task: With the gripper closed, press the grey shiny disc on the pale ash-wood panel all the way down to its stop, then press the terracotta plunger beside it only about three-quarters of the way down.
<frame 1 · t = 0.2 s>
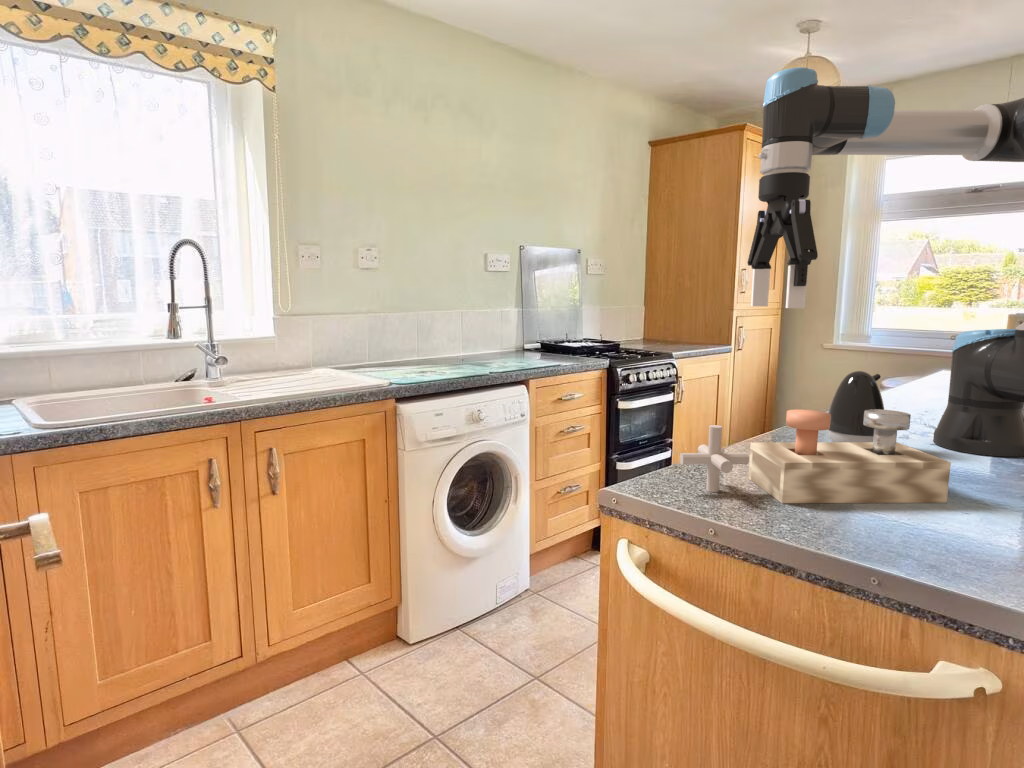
hand: (776, 307, 102), 28 cm above the counter, fingers open, 13 cm apart
terracotta plunger: (806, 437, 93), point 8 cm above the counter, slide at 0.0 cm
grey shiny disc: (884, 437, 93), point 8 cm above the counter, slide at 0.0 cm
panel housing: (841, 489, 94), on the counter
pump dispenser: (853, 448, 121), on the counter
pipe connector: (712, 491, 94), on the counter
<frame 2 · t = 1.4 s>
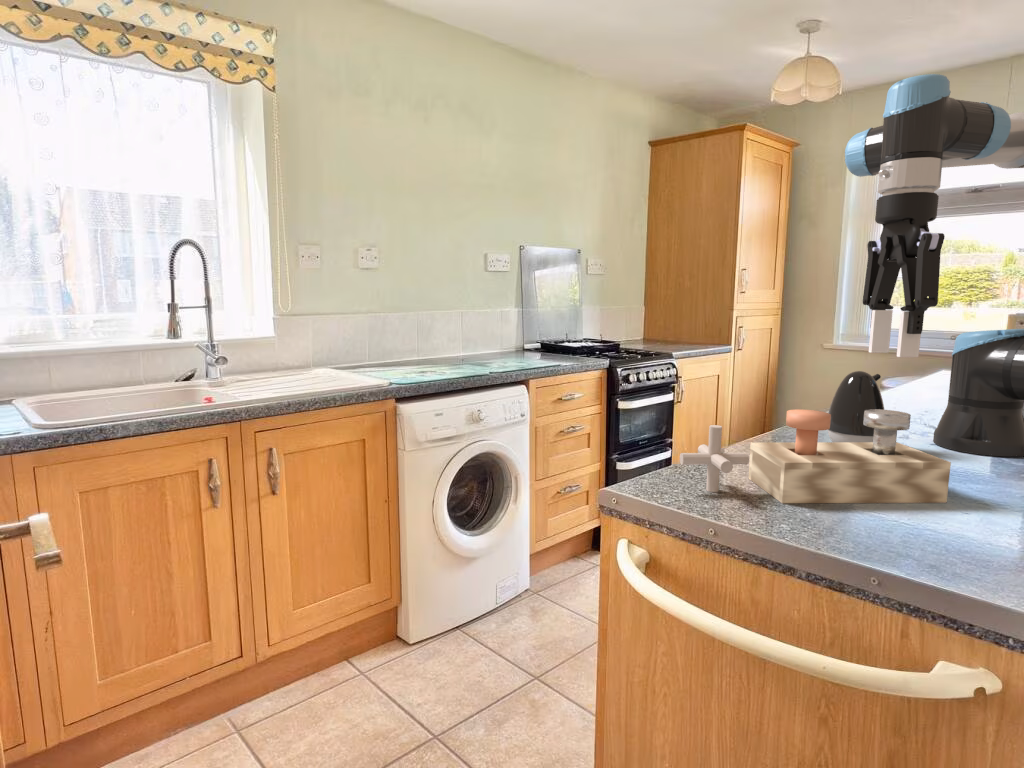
hand: (892, 354, 92), 21 cm above the counter, fingers open, 6 cm apart
nothing on the counter moved.
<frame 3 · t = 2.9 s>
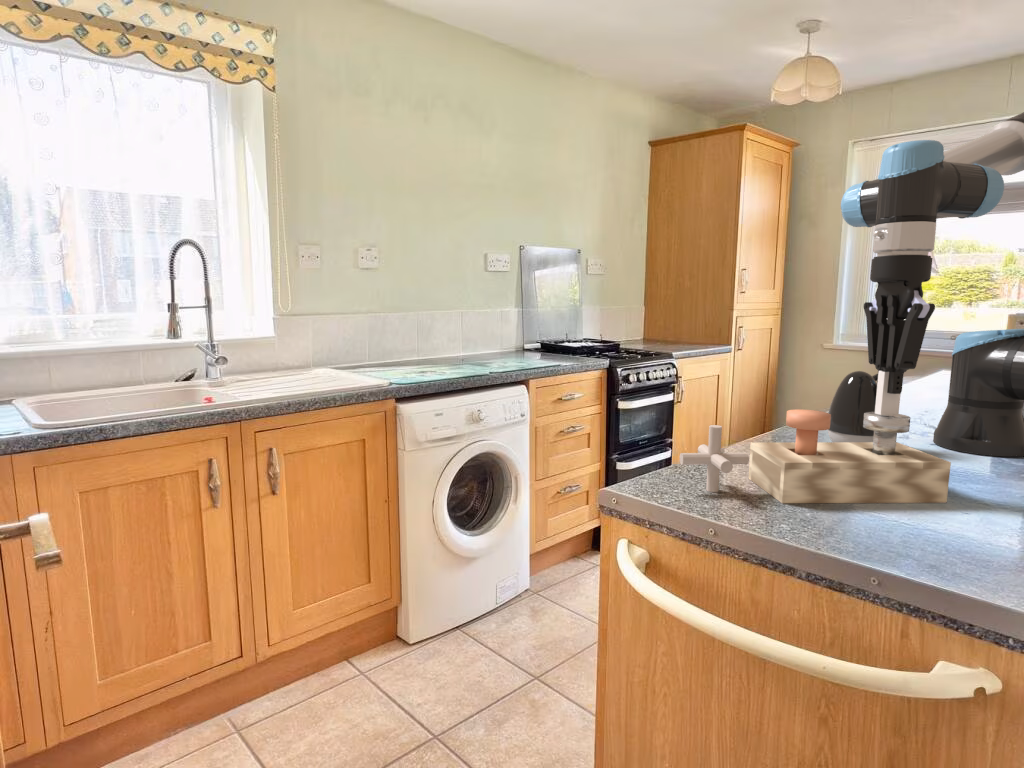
hand: (886, 413, 93), 12 cm above the counter, fingers closed
grey shiny disc: (884, 439, 93), point 8 cm above the counter, slide at 0.4 cm, touching gripper
everything else where it was.
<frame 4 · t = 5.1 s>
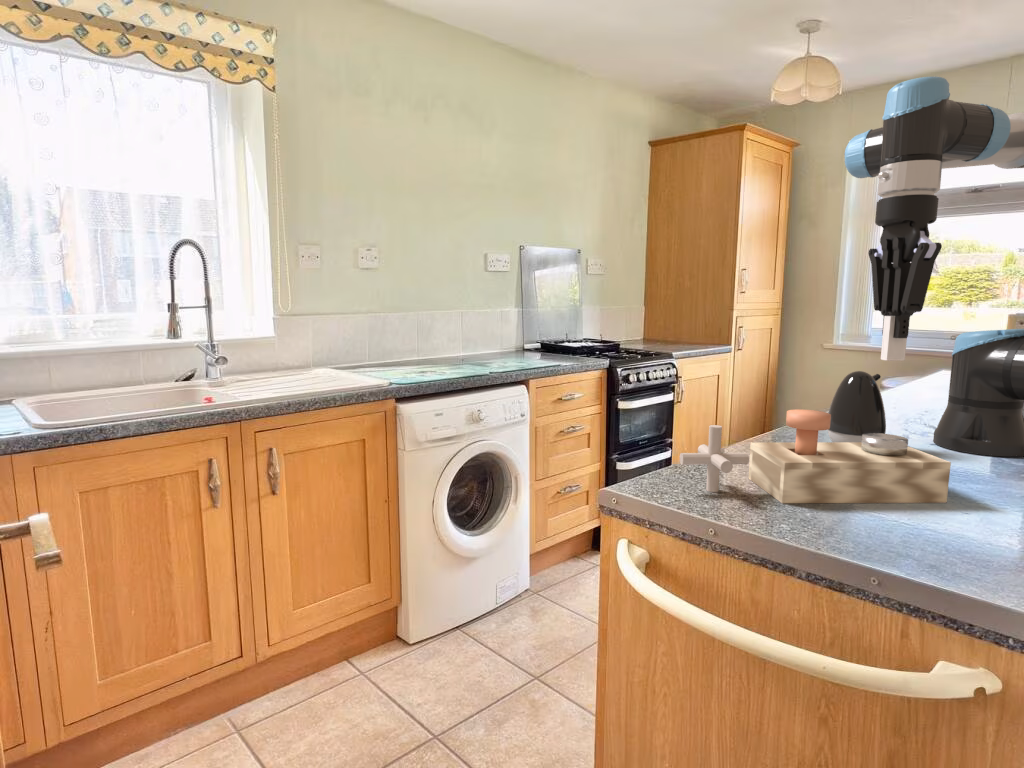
hand: (892, 359, 92), 20 cm above the counter, fingers closed
grey shiny disc: (882, 461, 94), point 4 cm above the counter, slide at 3.8 cm
everything else where it was.
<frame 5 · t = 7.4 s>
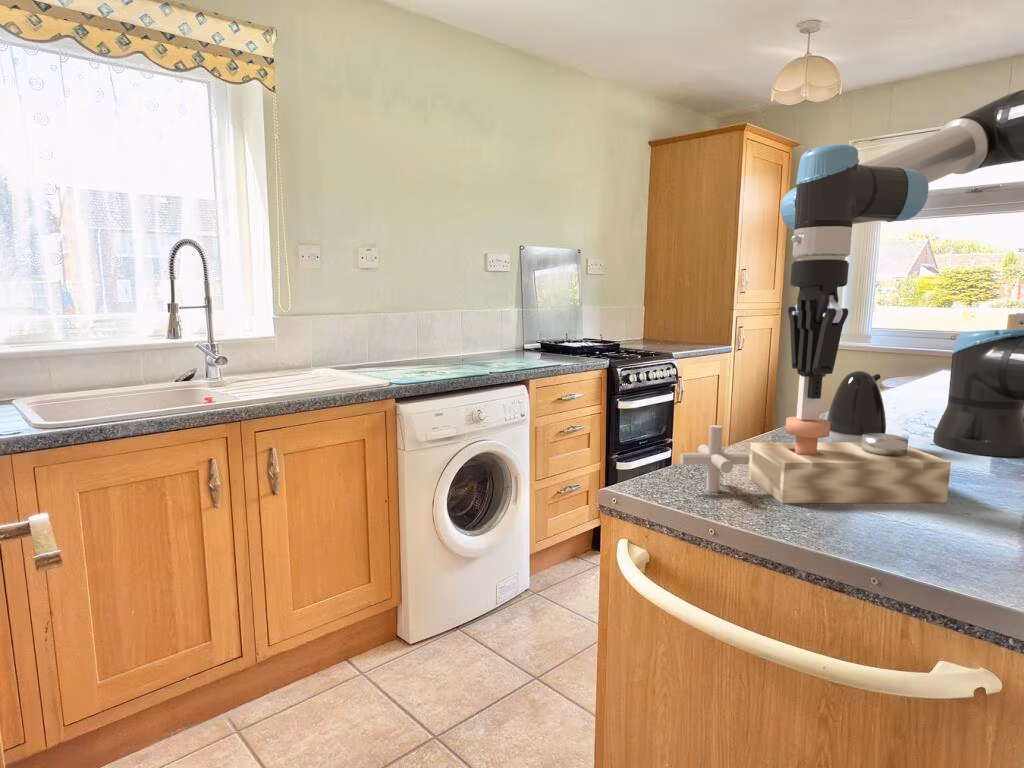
hand: (807, 418, 93), 11 cm above the counter, fingers closed
terracotta plunger: (806, 444, 93), point 7 cm above the counter, slide at 1.1 cm, touching gripper
everything else where it was.
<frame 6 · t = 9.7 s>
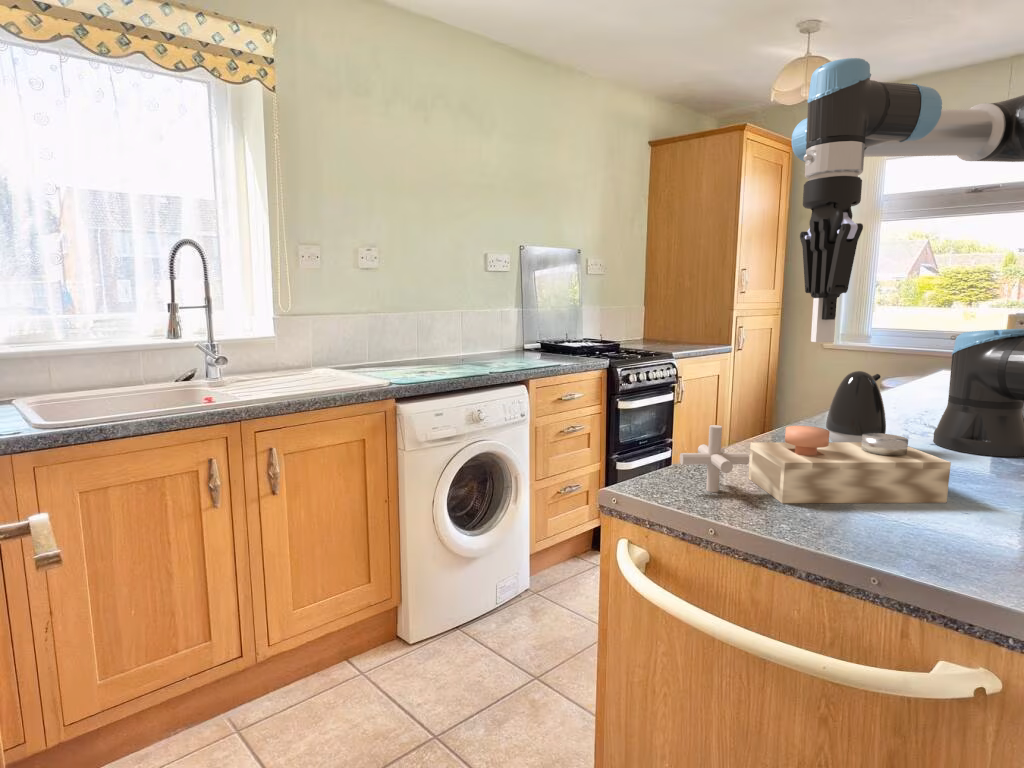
hand: (822, 341, 92), 23 cm above the counter, fingers closed
terracotta plunger: (805, 454, 93), point 6 cm above the counter, slide at 2.6 cm
everything else where it was.
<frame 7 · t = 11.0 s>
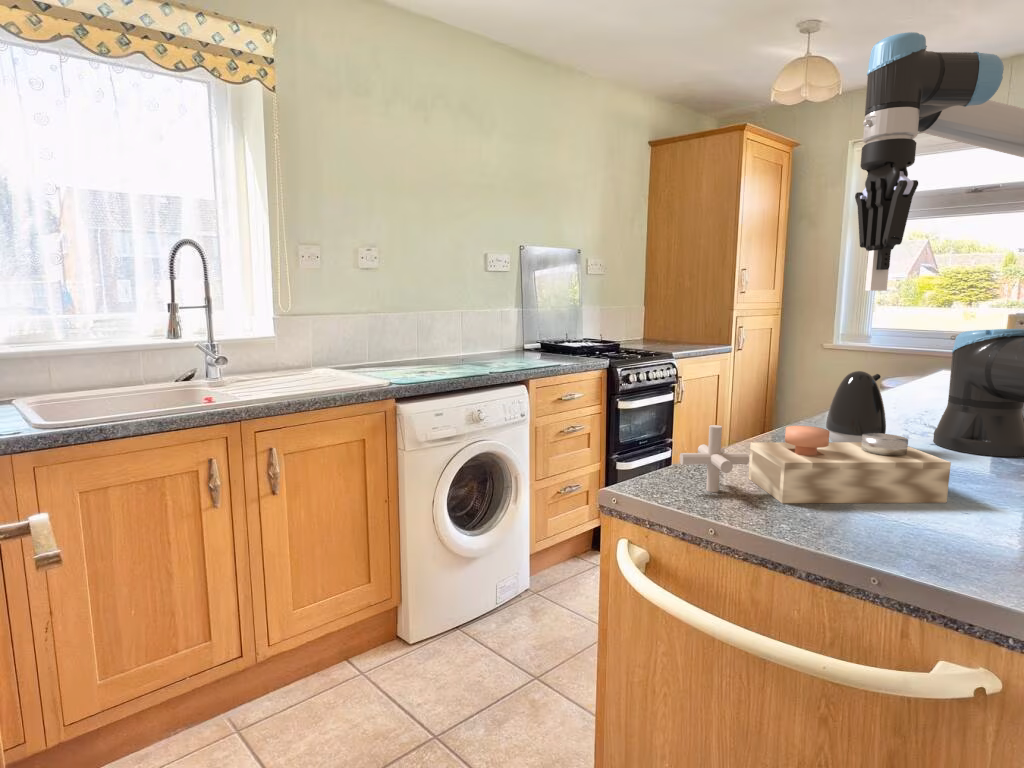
hand: (875, 290, 102), 30 cm above the counter, fingers closed
nothing on the counter moved.
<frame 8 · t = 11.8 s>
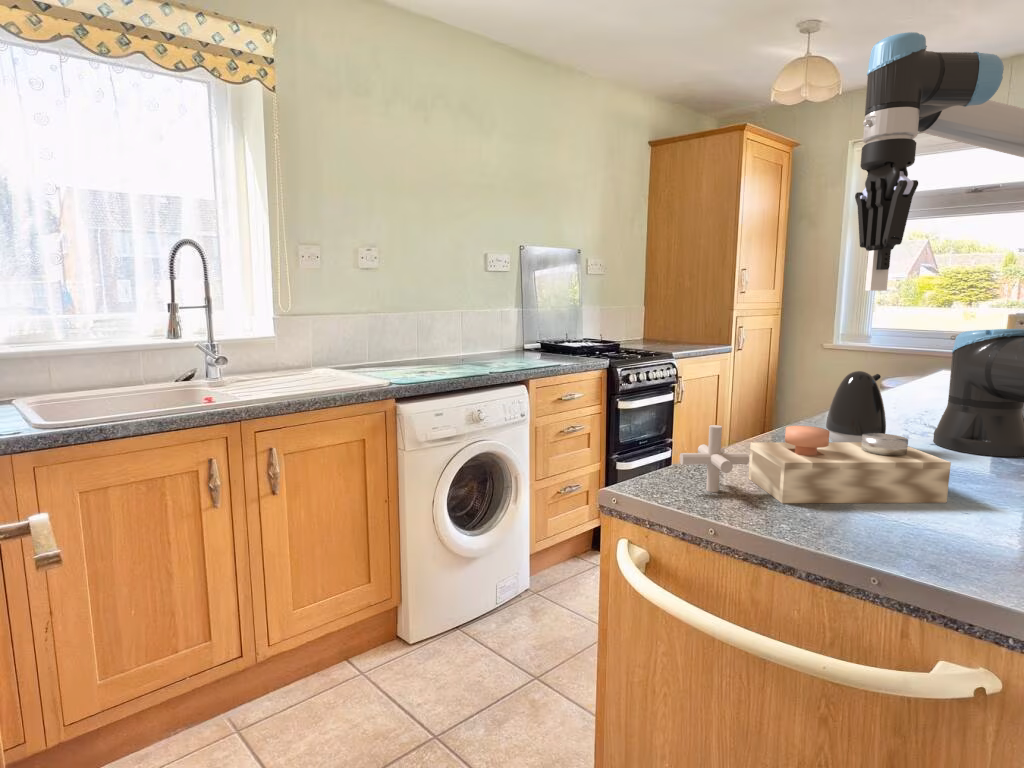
hand: (875, 290, 102), 30 cm above the counter, fingers closed
nothing on the counter moved.
at the end: grey shiny disc slide at 3.8 cm; terracotta plunger slide at 2.6 cm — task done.
